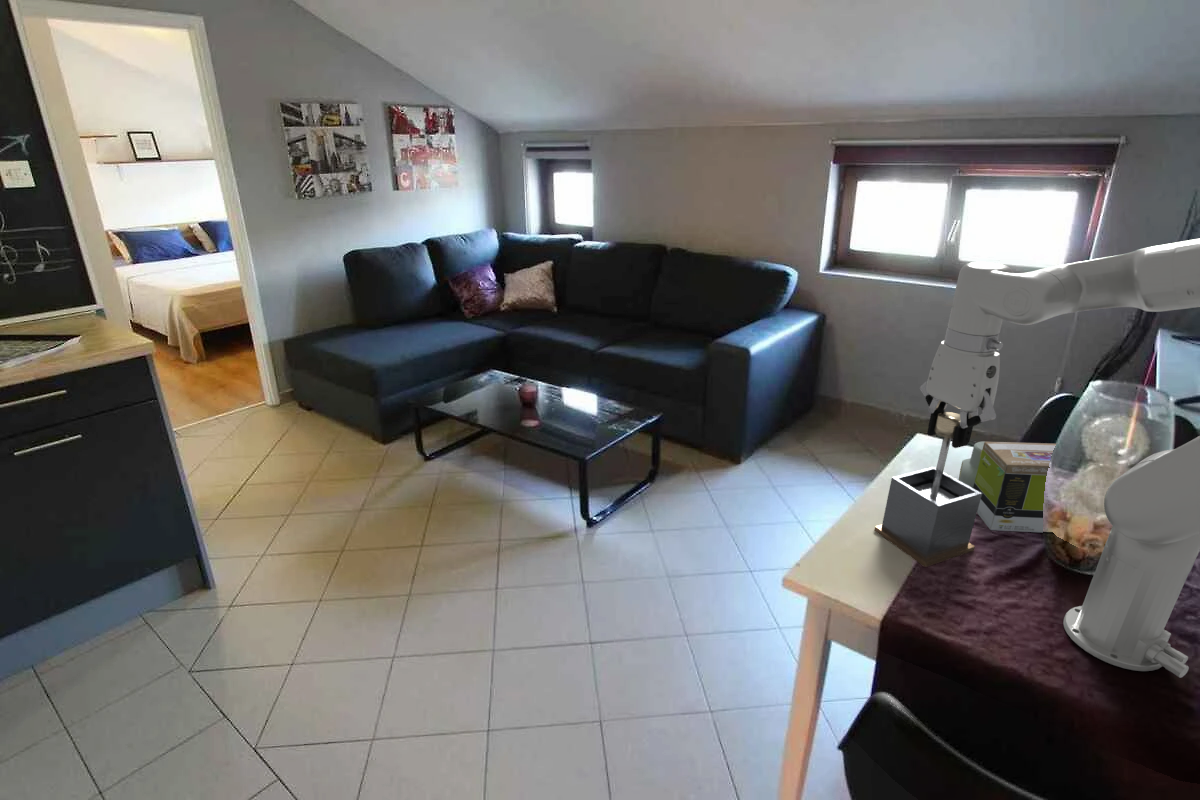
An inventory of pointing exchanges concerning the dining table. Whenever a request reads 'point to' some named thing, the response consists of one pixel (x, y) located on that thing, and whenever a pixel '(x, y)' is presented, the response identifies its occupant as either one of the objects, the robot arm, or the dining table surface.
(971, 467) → the air freshener
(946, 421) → the plunger
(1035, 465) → the tea box
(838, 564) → the dining table surface
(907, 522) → the press housing
